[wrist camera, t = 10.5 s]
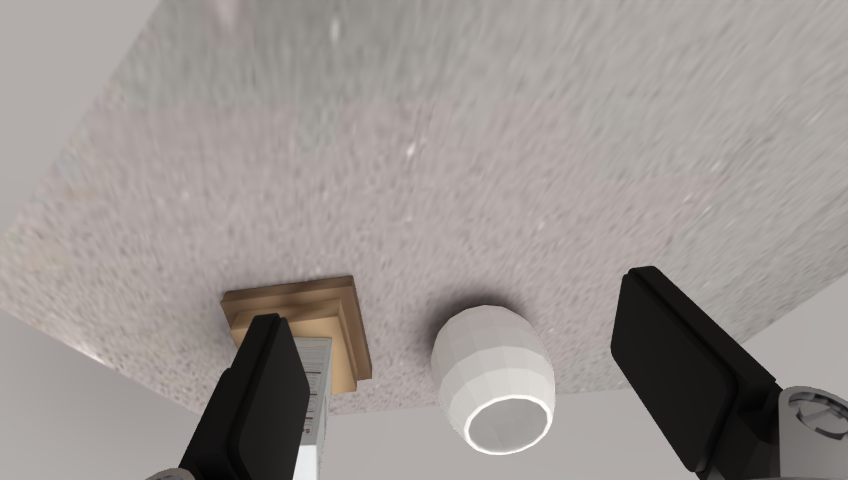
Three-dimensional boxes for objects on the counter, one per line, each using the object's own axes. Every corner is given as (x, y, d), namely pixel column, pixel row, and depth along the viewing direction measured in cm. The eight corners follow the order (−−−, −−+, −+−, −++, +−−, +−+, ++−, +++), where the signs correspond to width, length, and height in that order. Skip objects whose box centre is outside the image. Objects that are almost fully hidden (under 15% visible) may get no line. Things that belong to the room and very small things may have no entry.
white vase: (426, 294, 47) (441, 384, 35) (535, 287, 48) (586, 372, 36) (427, 376, 53) (440, 475, 41) (524, 368, 54) (564, 463, 42)
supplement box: (333, 386, 46) (317, 501, 35) (265, 384, 45) (226, 503, 33) (335, 336, 42) (318, 446, 31) (261, 333, 41) (217, 446, 30)
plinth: (352, 275, 45) (349, 302, 40) (372, 366, 51) (371, 398, 47) (226, 291, 44) (209, 320, 40) (262, 381, 51) (251, 414, 47)
